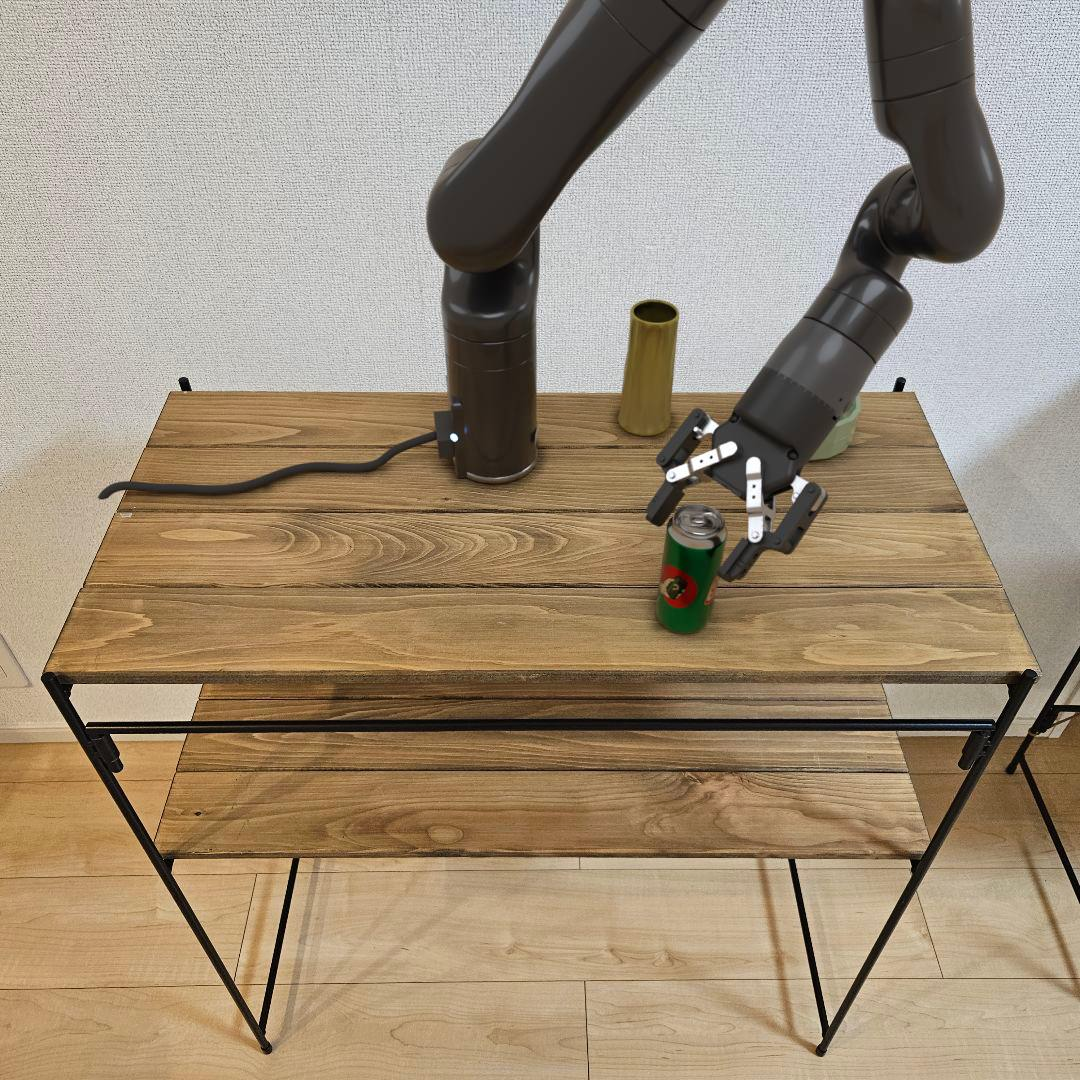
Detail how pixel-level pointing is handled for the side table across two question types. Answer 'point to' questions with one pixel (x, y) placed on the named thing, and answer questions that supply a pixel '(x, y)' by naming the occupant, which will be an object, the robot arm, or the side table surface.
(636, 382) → the vase
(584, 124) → the robot arm
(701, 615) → the soda can
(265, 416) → the side table surface
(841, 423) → the bowl
